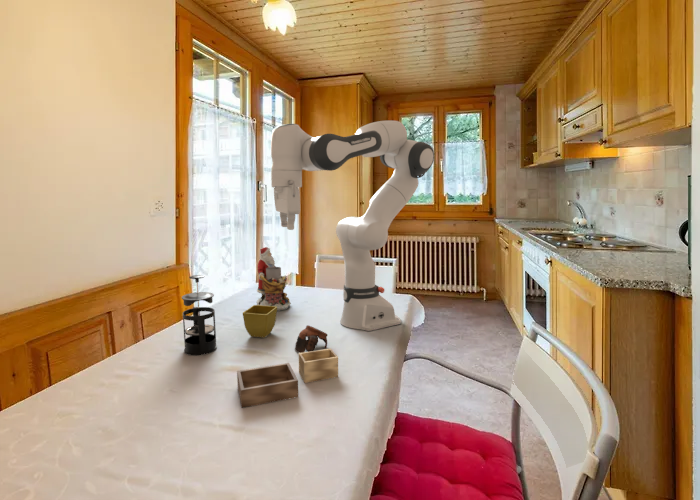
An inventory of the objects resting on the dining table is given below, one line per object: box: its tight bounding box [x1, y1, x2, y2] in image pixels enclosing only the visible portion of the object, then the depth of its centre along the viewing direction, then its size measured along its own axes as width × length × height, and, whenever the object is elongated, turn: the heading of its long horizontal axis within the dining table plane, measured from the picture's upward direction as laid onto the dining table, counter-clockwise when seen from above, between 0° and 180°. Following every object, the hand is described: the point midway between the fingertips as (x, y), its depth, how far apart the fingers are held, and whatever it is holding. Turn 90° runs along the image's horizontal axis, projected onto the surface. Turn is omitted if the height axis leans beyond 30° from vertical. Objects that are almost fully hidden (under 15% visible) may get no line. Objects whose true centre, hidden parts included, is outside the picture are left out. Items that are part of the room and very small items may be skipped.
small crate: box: [298, 348, 339, 384], centre depth 100 cm, size 9×6×6 cm, turn 111°
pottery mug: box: [294, 325, 328, 354], centre depth 116 cm, size 12×10×8 cm
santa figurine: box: [256, 246, 292, 312], centre depth 160 cm, size 17×14×25 cm
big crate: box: [236, 362, 299, 409], centre depth 92 cm, size 13×10×4 cm
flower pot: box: [242, 304, 278, 339], centre depth 128 cm, size 9×9×9 cm
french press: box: [181, 274, 218, 357], centre depth 115 cm, size 12×9×23 cm
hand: (287, 228), depth 114 cm, fingers open, 8 cm apart
